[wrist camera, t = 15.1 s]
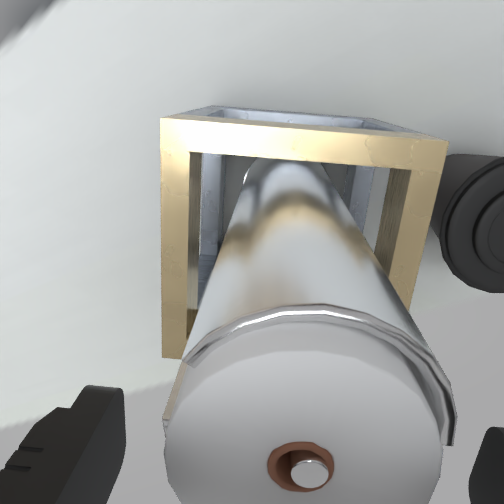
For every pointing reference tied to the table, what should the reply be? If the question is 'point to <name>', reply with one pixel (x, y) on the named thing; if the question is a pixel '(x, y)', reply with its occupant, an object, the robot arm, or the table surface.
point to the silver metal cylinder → (304, 363)
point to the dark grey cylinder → (472, 219)
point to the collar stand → (293, 148)
